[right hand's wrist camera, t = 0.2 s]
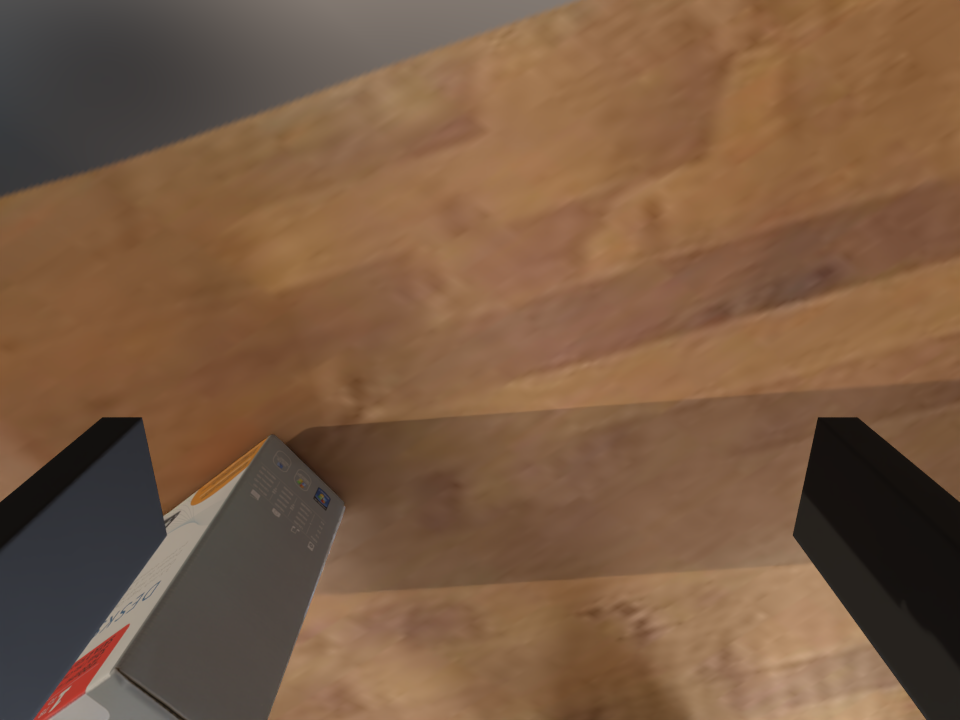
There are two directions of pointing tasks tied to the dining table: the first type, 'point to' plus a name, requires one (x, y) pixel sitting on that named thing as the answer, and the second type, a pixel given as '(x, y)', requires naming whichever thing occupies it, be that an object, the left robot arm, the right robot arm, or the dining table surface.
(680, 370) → the dining table surface
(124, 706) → the hard drive box
